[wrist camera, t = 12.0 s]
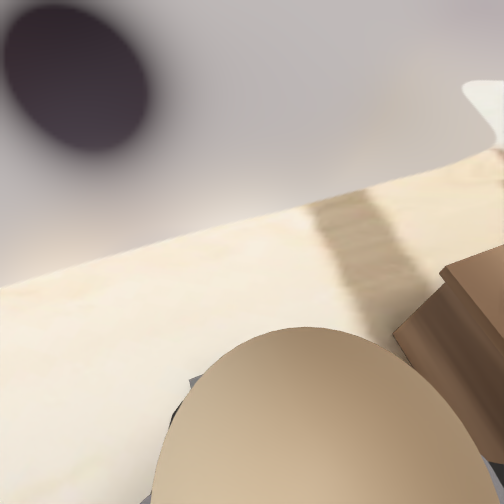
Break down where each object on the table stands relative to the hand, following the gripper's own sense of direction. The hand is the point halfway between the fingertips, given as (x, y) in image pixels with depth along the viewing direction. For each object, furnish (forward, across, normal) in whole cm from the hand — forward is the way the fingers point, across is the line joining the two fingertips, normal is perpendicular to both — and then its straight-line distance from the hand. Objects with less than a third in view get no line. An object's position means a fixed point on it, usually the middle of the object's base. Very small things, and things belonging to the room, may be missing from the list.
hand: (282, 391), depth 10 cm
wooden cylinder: (+3, 0, +5) cm, 6 cm away
